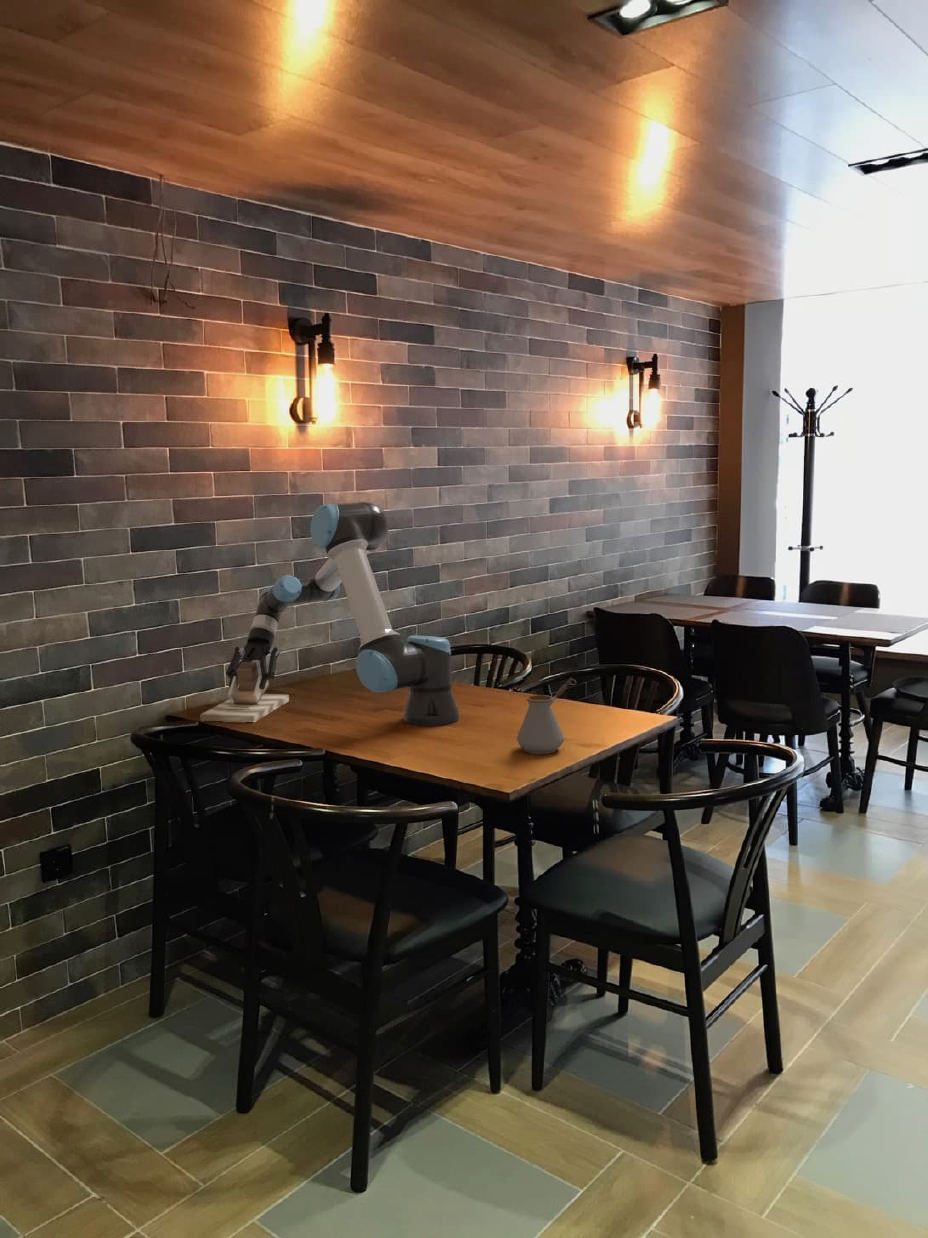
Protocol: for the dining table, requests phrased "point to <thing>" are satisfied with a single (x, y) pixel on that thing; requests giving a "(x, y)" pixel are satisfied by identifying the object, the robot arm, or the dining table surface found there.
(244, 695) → the sanding block
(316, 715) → the dining table surface
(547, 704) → the coffee pot
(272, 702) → the birch board
